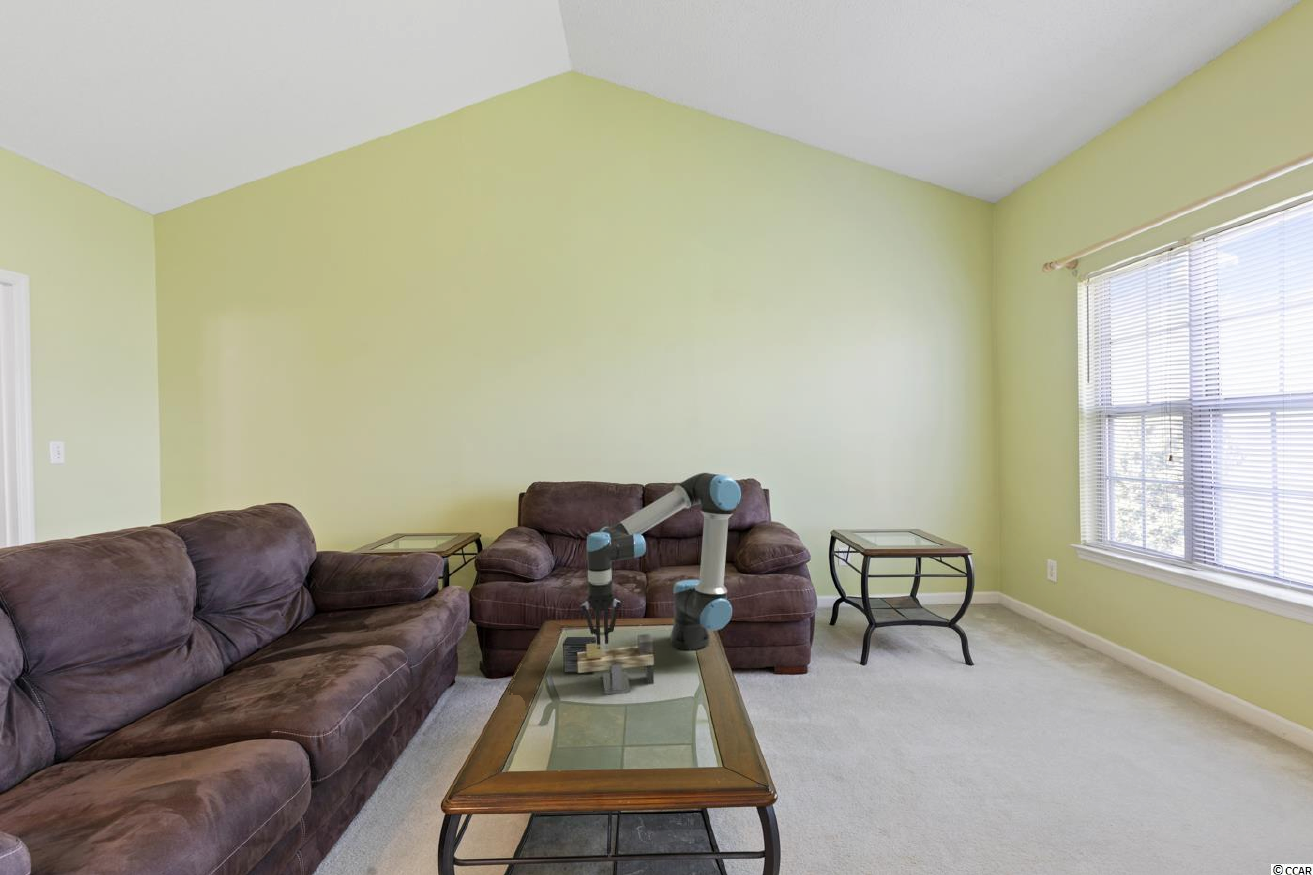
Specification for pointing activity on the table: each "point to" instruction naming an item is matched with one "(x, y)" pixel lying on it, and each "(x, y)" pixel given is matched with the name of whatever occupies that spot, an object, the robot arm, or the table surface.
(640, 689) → the table surface
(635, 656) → the beam
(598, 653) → the block
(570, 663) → the small box
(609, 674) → the fulcrum
